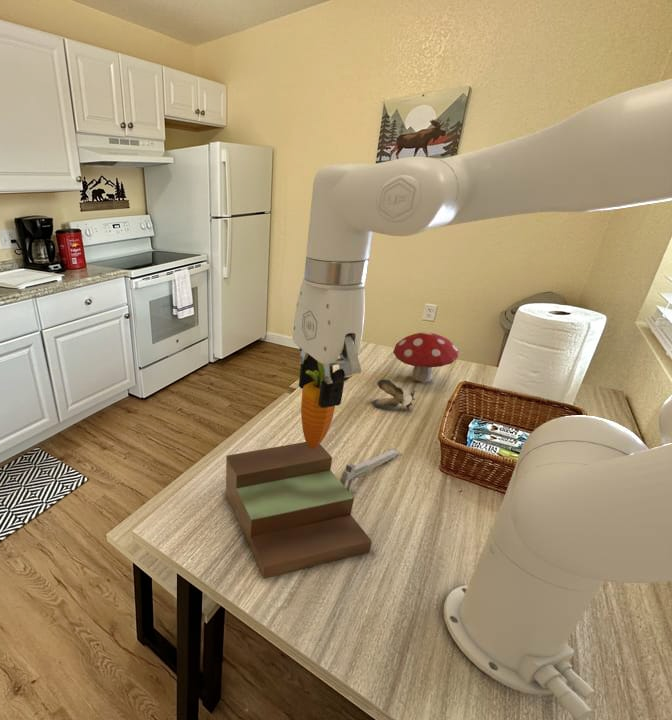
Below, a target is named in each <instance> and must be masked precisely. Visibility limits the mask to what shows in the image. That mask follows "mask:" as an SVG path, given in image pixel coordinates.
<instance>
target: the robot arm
mask: <svg viewBox="0 0 672 720" xmlns="http://www.w3.org/2000/svg"><path fill="white" fill-rule="evenodd" d="M311 192H312V194H311V202H310V203H311V204H310V213H309V223H308V234H307V245H306V254H305V261H304V262H305V263H304V275H303V278H302V282H301V285H300V289H299V292H298V295H297V296H298V297H297V302H296V307H295V314H294V319H293V328H292V341H293V342H294V344H295V345H296V346H297V347H299V349H300V351H299V352H300V355H299V362H300V369H299V379H298V380H299V381H298V387H299V388H300V389H302V390H303V387H304V385H306V384H308V383H310V382H313V381H314V380H313V378H312V377H311V376H310V375H308V374H306V371H307V370H310V371H312V372H314V371H315V370H316V371H318V373H319V368H318V363H317V361H318V362H320V363H321V364H323V365H324V369H325V381H321V389H320V396H319V406H320V407H321V408H324V407H331V406H335V407H337V406H341V404H342V398H343V393H344V386H345V383H347V382H348V381H349V379H351V378H352V377H354V376H356V375H359V374H361V373H362V367H361V363H360V359H359V353H360V350H361V345H362V340H363V333H364V323H365V311H366V309H365V308H366V307H365V305H366V287H365V286H366V280H367V275H368V269H369V268H368V267H369V262H370V256H371V249H372V244H373V240H374V239H373V238H374V233H376V234H381V235H384V236H385V235H386V236H391V237H410V236H414V235H418V234H421V233H424V232H427V231H429V230H435V229H438V228H443V227H449V226H455V225H461V224H466V223H475V222H479V221H486V220H490V219H499V218H505V217H512V216H519V215H527V214H537V213H551V212H552V213H557V212H558V213H588V212H590V213H591V212H597V211H598V212H599V211H608V210H616V209H624V208H629V207H630V208H631V207H638V206H643V205H648V204H656V203H663V202H670V201H672V78H668V79H665V80H662V81H658V82H654V83H651V84H647V85H643V86H640V87H636V88H633V89H632V88H631V89H629V90H625V91H623V92H620V93H617V94H615V95H612V96H608V97H607V98H604V99H602V100H600V101H597V102H595V103H593V104H590V105H589V106H586V107H584V108H583V109H581V110H579V111H577V112H576V113H574V114H572V115H570V116H568V117H566V118H565V119H563V120H561V121H559V122H557V123H555V124H553V125H550V126H548V127H545V128H543V129H540V130H538V131H535V132H532V133H529V134H527V135H523V136H520V137H517V138H514V139H511V140H508V141H505V142H500V143H497V144H494V145H490V146H486V147H482V148H479V149H476V150H471V151H467V152H464V153H460V154H456V155H452V156H448V157H442V158H438V157H429V156H428V157H427V156H408V157H401V158H397V159H392V160H387V161H383V162H378V163H368V162H367V163H365V162H357V163H356V162H355V163H354V162H353V163H336V164H335V163H334V164H328V165H325V166H323V167H321V168H320V169H318V170H317V172H316V173H315V175H314V178H313V184H312V191H311ZM337 365H338V369H336V370H334V366H337ZM319 376H320V373H319ZM658 433H659V438H660V442H661V445H660V446H655V447H653V448H648V446H647V444H646V443H645V442H643V441H642V439H641V438H639V436H637V435H636V434H635V433H634V432H632V431H631V430H629V429H628V428H627V427H625V426H622V425H621V424H619V423H616V422H614V421H611V420H608V419H605V418H602V417H597V416H592V415H575V414H574V415H566V416H560V417H557V418H553V419H550V420H549V421H546V422H544V423H542V424H541V425H539V426H538V427H536V428H534V430H533V431H532V432H531V433H530V434H529V435H528V436H527V437H526V439H525V441H524V442H523V444H522V446H521V448H520V451H519V454H518V456H517V459H516V462H515V466H514V469H513V472H512V474H511V477H510V479H509V483H508V486H507V489H506V491H505V494H504V496H503V498H502V502H501V504H500V506H499V509H498V512H497V514H496V516H495V519H494V521H493V524H492V525H491V528H490V530H489V533H488V535H487V538H486V540H485V543H484V545H483V548H482V550H481V553H480V555H479V558H478V560H477V562H476V565H475V567H474V570H473V572H472V575H471V577H470V579H469V582H468V584H465V585H461V586H458V587H454V589H452V590H451V591H450V592H449V593H448V595H447V596H446V599H445V601H444V603H443V611H442V613H443V618H444V623H445V626H446V628H447V630H448V633H449V634H450V636H451V638H452V640H453V641H454V642H455V644H456V645H457V647H458V648H459V649H460V650H461V652H462V653H463V654H464V656H466V657H467V658H468V660H470V661H471V662H472V663H473V664H474V665H475V666H476V667H477V668H478V669H480V670H481V671H482V672H484V674H486V675H488V676H489V677H490V678H492V679H494V680H495V681H497V682H499V683H500V684H502V685H504V686H506V687H508V688H510V689H513V690H515V691H517V692H521V693H524V694H527V695H532V696H541V697H543V696H551V695H553V696H554V697H555V698H556V699H557V700H558V703H559V704H561V706H562V707H563V708H564V709H565V710H566V711H567V712H568V714H569V715H570V716H572V718H573V719H574V720H587V719H588V718H590V717H591V716H592V714H593V713H594V711H593V709H592V708H591V707H590V706H589V705H588V704H587V703H586V702H585V701H584V700H589V699H591V698H592V697H594V696H595V695H596V693H597V692H596V691H595V689H593V688H592V687H591V686H590V685H589V683H587V682H586V681H585V680H584V679H583V678H581V677H580V676H579V675H578V674H577V673H576V672H575V671H574V670H573V665H572V664H571V663H570V661H571V659H572V658H573V657H574V655H575V650H574V649H573V648H572V647H571V646H570V645H569V644H568V643H567V642H568V640H569V638H570V637H571V636H572V634H573V632H574V630H575V628H576V627H577V626H578V624H579V622H580V621H581V619H582V618H583V616H584V614H585V613H586V611H587V609H588V608H589V606H590V604H591V603H592V602H593V599H594V598H595V597H596V594H597V593H598V591H599V590H600V589H601V587H602V586H603V585H604V583H606V582H608V583H618V584H652V583H672V395H670V396H669V397H668V398H667V399H666V400H665V401H664V403H663V404H662V406H661V408H660V410H659V413H658ZM567 682H568V683H569V684H570V685H571V687H572V688H573V689H574V690H575V691H576V692H577V693H578V694H579V695H580V696H581V697H582V698H583V699H584V700H583V699H582V698H581V697H580V696H579V695H578V694H577V693H576V692H575V691H574V690H572V689H571V688H570V687H569V686H568V685H567Z"/></svg>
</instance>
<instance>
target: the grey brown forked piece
mask: <svg viewBox="0 0 672 720" xmlns="http://www.w3.org/2000/svg"><path fill="white" fill-rule="evenodd" d="M376 384H377V386H378V388H379V389H380V390H382V391H383V392H385V393H386V394H388V395H390V396H392V397H390V398H389V397H388V398H387V397H386V398H380V399H379V398H378V399H374V400H372V401H371V404H372V405H373V406H374V407H376V408H385V407H388V408H389V407H390V408H395V407H398V406H399V405H403V407H406V410H408V411H410V408H411V406H413V401H414V400H416V398H415V393H416V389H413V391H411V392H410V394H406V395H405V391H404V390H403V389H402V388H401V387H399V386H397V385H396V384H395V383H393V382H392V380H390V379H383V378H382V379H379V380H378V381H377V382H376Z"/></svg>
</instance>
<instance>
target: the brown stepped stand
mask: <svg viewBox="0 0 672 720" xmlns="http://www.w3.org/2000/svg"><path fill="white" fill-rule="evenodd" d="M225 462H226V463H225V495H226V498H227V500H228V502H229V504H230V506H231V509H232V511H233V514H234V515H235V518H236V521H237V522H238V524H239V527H240V529H241V531H242V534H243V536H244V538H245V540H246V542H247V545H248V547H249V549H250V552H251V554H252V556H253V558H254V560H255V563H256V565H257V567H258V569H259V572H260V574H261V576H262V578H263V579H267V578H271V577H276V576H279V575H284V574H288V573H292V572H297V571H299V570H304V569H308V568H312V567H315V566H319V565H324V564H327V563H333V562H337V561H341V560H344V559H348V558H352V557H356V556H360V555H365V554H368V553H370V552H371V548H372V543H373V541H372V539H371V538H370V537H369V535H368V534H367V533H366V532H365V529H363V527H361V525H360V524H359V523H358V522H357V520H356V519H355V518H354V516H353V515H352V510H353V505H354V500H355V497H354V496H353V494H352V493H351V491H348V490H347V489H346V488H345V486H344V485H343V484H342V483H341V482H340V479H339V478H338V477H337V476H336V475H335V474H334V472H333V471H332V470H331V468H332V463H333V457H332V456H331V454H330V453H329V452H328V451H327V450H326V449H325V448H324V447H323V446H322V444H321V443H320V444H319V445H318V446H317V447H316V448H315V449H310V448H309V447H308V445H307V443H306V441H302V442H296V443H291V444H285V445H280V446H274V447H268V448H261V449H257V450H250V451H245V452H239V453H234V454H233V453H232V454H228V455H226V461H225Z"/></svg>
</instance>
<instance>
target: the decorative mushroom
mask: <svg viewBox="0 0 672 720" xmlns="http://www.w3.org/2000/svg"><path fill="white" fill-rule="evenodd" d="M392 353H393V355H394V356H395V358H396V359H397V360H398V361H400V362H402V363H403V364H405V365H409V366H411V367H413V370H412V373H411V378H412V379H414V380H415V381H418V382H421V383H426V382H427V383H428V382H429V381H432V377H433V372H434V369H433V368H438V367H444V366H448V365H450V364H453V363H454V362H455V361H456V360H457V359H458V358H459V353H460V352H459V349H458V348H457V346H455V344H454V343H453V342H452V341H451V340H450V339H449V338H447V337H445V336H443V335H441V334H437V333H433V332H416V333H413V334H411V335H408V336H405V337H404V338H402V339H401V340H399V341H398V342H397V343H395V345H394V349H393V352H392Z"/></svg>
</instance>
